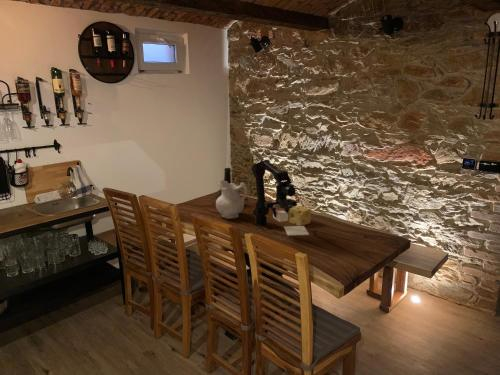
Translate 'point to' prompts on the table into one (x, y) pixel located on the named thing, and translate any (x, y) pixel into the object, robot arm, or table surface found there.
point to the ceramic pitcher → (230, 199)
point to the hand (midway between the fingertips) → (280, 217)
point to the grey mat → (295, 230)
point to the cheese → (300, 215)
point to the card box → (281, 215)
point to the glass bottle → (226, 178)
